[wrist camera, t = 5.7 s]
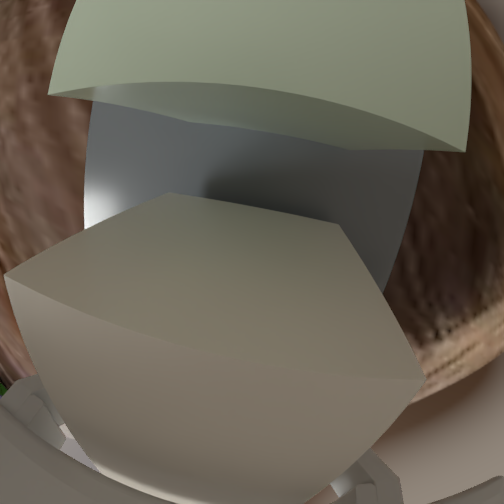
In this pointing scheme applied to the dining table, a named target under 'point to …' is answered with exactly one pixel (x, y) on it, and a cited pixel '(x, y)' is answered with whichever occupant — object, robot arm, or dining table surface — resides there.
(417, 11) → the pale green prism
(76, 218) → the dining table surface
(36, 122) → the dining table surface
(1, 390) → the geometric puzzle
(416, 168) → the slate board
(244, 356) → the beige eraser-shaped brick
